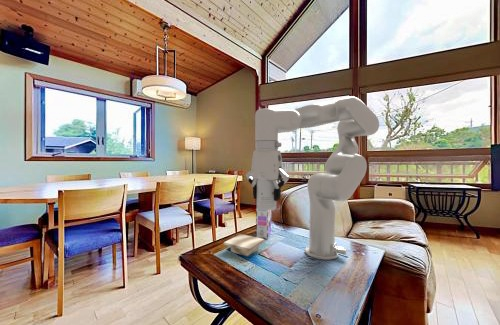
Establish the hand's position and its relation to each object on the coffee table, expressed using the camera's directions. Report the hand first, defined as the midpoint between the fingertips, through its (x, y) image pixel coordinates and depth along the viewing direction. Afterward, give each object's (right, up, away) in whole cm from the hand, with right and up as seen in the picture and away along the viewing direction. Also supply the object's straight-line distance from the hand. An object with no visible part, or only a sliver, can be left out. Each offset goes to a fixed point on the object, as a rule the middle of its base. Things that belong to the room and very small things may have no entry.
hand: (266, 198), depth 81 cm
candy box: (+1, -23, +36) cm, 43 cm away
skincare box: (0, -4, 0) cm, 4 cm away
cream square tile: (-8, -23, +16) cm, 29 cm away
